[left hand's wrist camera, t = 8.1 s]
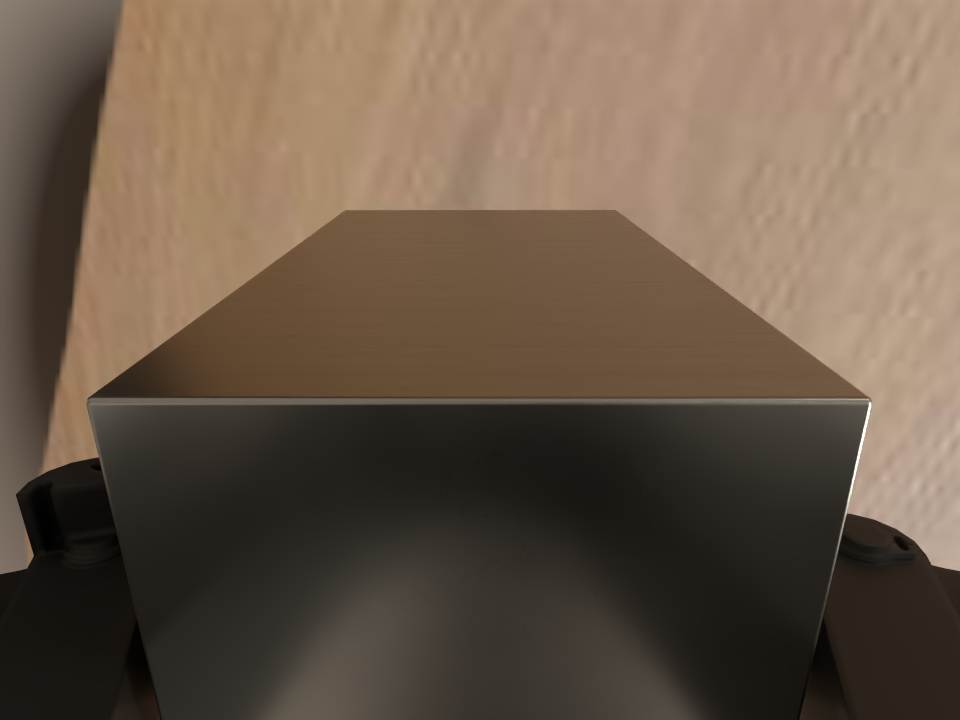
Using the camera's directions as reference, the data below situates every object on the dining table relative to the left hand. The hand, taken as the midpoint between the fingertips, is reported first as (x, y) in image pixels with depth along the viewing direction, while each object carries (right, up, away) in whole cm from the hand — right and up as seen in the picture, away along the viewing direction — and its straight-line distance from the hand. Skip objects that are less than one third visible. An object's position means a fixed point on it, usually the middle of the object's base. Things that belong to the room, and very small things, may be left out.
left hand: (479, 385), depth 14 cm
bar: (0, -7, +3) cm, 8 cm away
